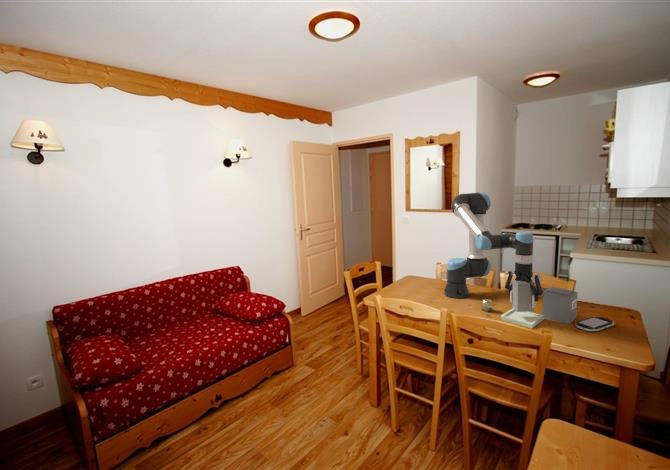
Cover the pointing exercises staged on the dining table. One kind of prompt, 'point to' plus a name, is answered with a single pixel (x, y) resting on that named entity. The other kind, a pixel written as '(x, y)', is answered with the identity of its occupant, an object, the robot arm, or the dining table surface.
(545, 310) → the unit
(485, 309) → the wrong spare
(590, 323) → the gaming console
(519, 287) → the skincare box
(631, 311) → the dining table surface
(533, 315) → the tray
